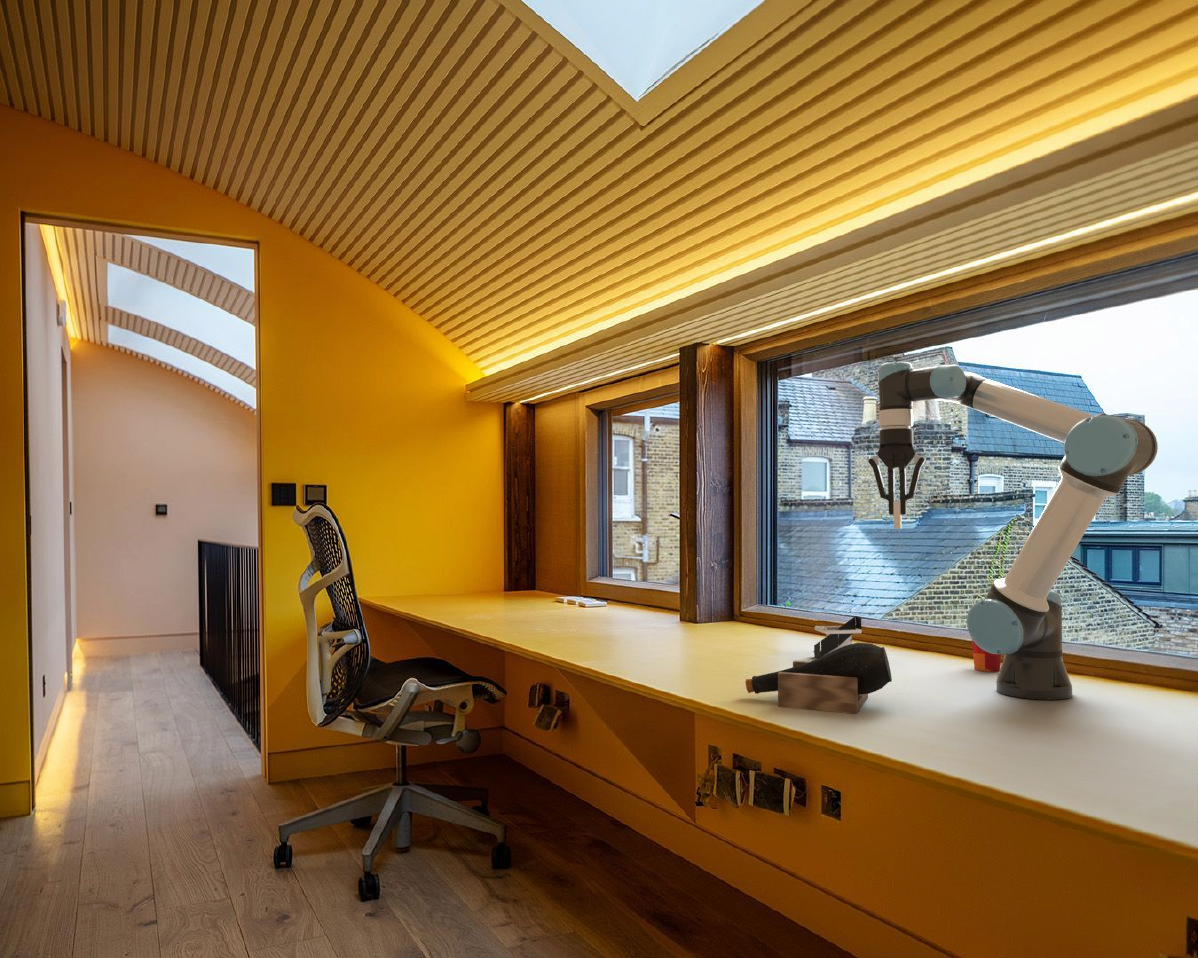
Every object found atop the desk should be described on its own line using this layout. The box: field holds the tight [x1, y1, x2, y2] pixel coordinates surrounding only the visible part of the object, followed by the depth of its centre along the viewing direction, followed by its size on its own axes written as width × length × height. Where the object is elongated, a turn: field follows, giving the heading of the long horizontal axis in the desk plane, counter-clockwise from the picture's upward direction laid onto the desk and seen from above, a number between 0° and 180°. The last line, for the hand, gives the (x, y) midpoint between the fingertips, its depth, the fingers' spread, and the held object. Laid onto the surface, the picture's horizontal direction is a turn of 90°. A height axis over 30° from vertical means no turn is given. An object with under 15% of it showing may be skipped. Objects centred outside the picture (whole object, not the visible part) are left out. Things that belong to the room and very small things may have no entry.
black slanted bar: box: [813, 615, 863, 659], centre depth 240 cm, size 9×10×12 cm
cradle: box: [777, 660, 869, 715], centre depth 189 cm, size 16×16×7 cm
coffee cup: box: [971, 639, 1002, 673], centre depth 224 cm, size 8×8×15 cm
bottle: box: [745, 642, 893, 695], centre depth 188 cm, size 11×11×30 cm
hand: (897, 528), depth 207 cm, fingers closed
